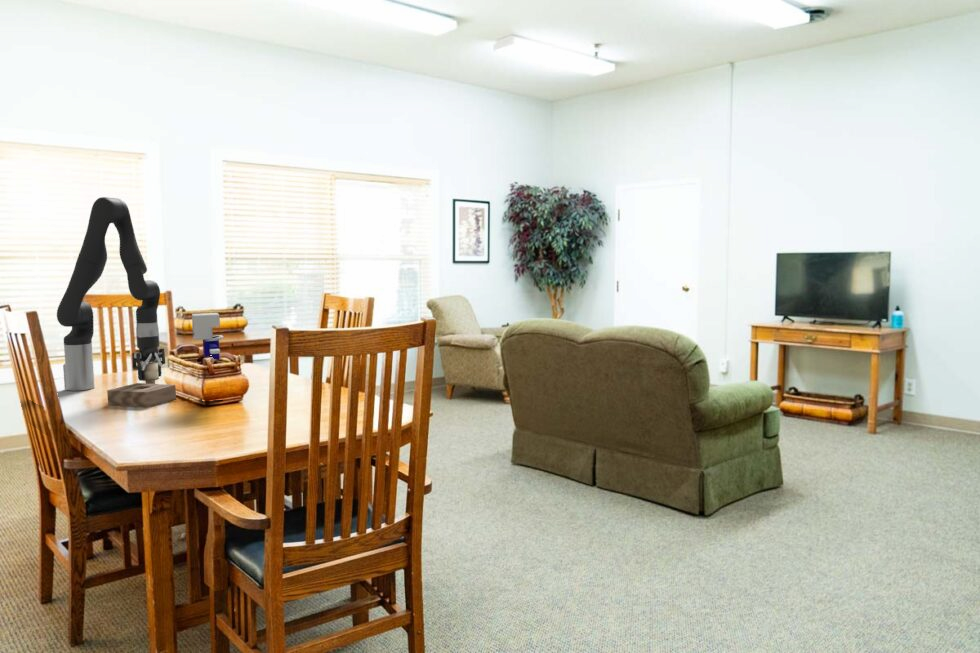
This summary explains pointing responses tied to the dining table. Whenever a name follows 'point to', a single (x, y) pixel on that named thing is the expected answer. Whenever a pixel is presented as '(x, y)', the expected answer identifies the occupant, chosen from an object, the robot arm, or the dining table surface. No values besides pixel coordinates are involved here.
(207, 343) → the toy
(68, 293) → the robot arm
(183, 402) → the dining table surface
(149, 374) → the peg
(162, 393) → the grey wooden block
